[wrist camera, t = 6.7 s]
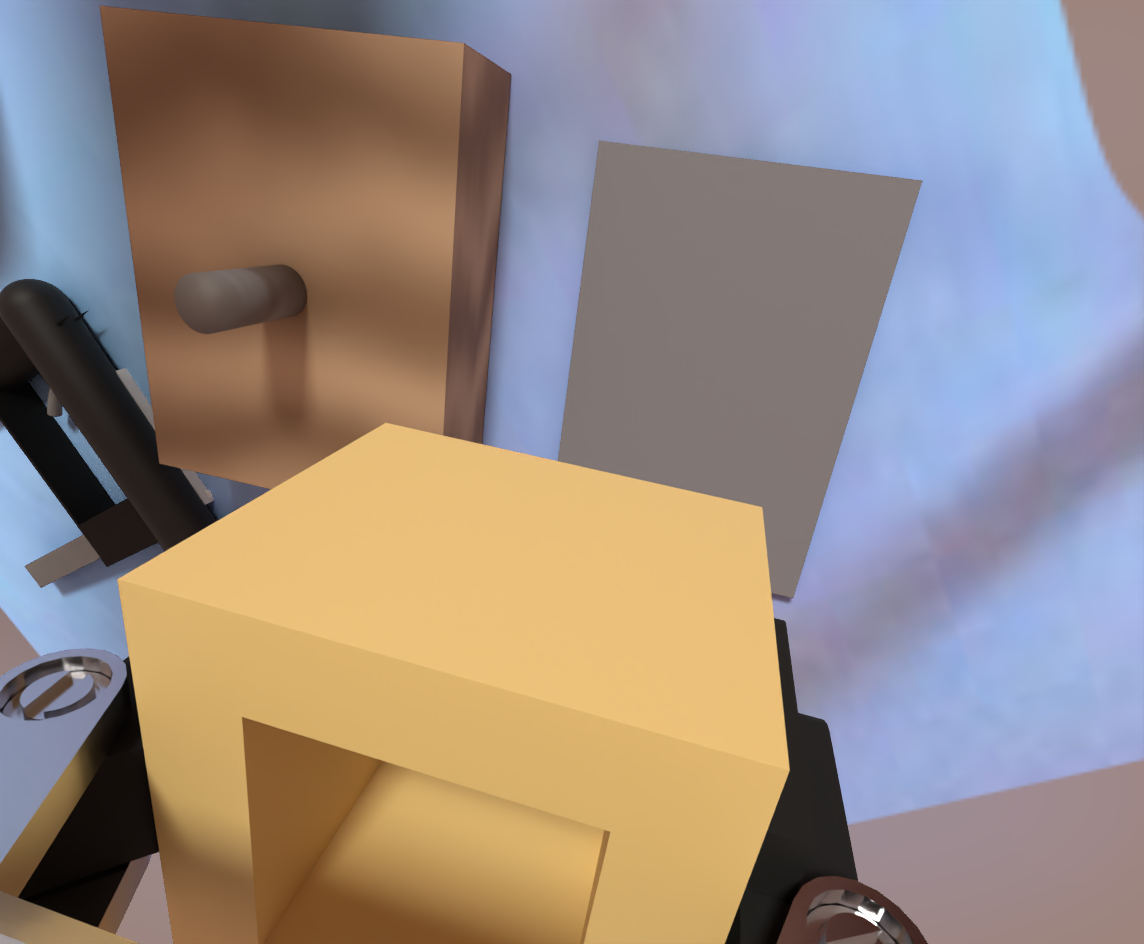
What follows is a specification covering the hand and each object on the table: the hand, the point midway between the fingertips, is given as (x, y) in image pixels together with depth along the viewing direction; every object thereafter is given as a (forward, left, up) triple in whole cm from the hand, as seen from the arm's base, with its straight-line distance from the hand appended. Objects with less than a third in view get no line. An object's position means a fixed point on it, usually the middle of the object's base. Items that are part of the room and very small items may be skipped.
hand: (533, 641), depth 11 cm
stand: (-2, -15, -20) cm, 25 cm away
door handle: (+12, -32, -20) cm, 40 cm away
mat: (0, +2, -20) cm, 20 cm away
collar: (0, 0, -1) cm, 1 cm away
